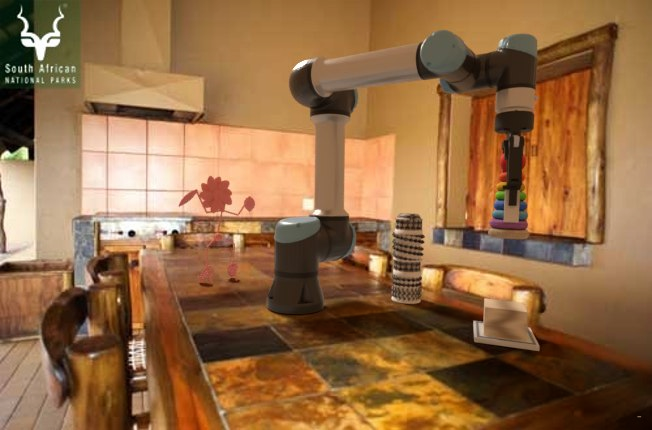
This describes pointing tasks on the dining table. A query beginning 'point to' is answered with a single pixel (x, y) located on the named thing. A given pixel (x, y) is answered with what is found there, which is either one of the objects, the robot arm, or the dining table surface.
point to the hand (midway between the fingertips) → (508, 221)
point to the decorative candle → (407, 259)
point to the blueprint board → (505, 339)
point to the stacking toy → (498, 225)
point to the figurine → (217, 198)
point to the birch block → (505, 319)
